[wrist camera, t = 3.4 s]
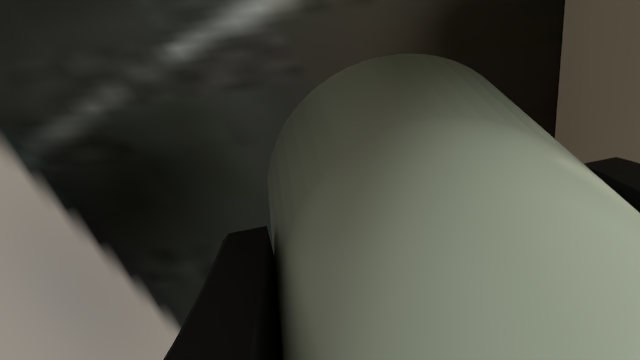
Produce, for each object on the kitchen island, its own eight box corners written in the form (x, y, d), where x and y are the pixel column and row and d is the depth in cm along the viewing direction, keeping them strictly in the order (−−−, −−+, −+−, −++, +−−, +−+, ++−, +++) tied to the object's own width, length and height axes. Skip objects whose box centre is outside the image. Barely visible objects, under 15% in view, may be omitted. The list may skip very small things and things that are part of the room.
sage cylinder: (292, 298, 12) (345, 736, 6) (241, 83, 9) (246, 463, 3) (515, 253, 12) (786, 634, 6) (524, 29, 10) (997, 305, 4)
